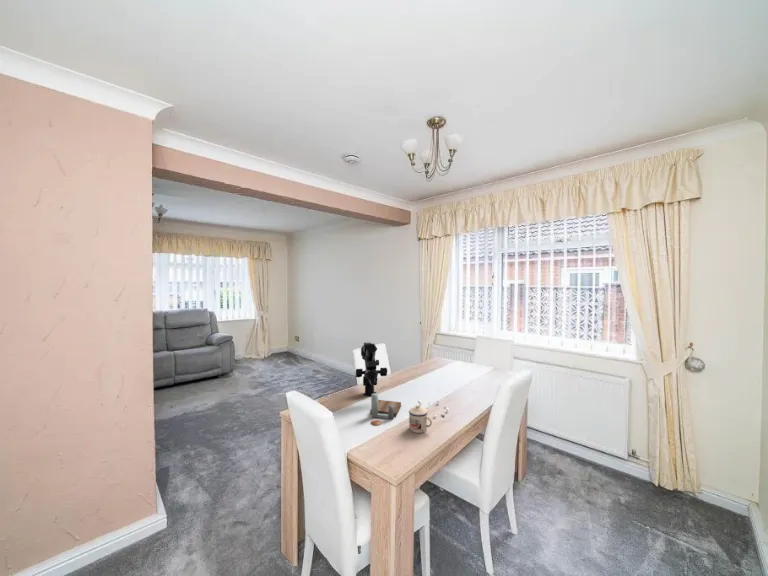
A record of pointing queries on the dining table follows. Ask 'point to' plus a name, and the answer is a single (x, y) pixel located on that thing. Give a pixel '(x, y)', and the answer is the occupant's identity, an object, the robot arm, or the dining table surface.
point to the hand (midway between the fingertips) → (372, 385)
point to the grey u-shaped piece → (375, 408)
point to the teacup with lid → (418, 419)
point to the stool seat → (386, 409)
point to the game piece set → (437, 404)
